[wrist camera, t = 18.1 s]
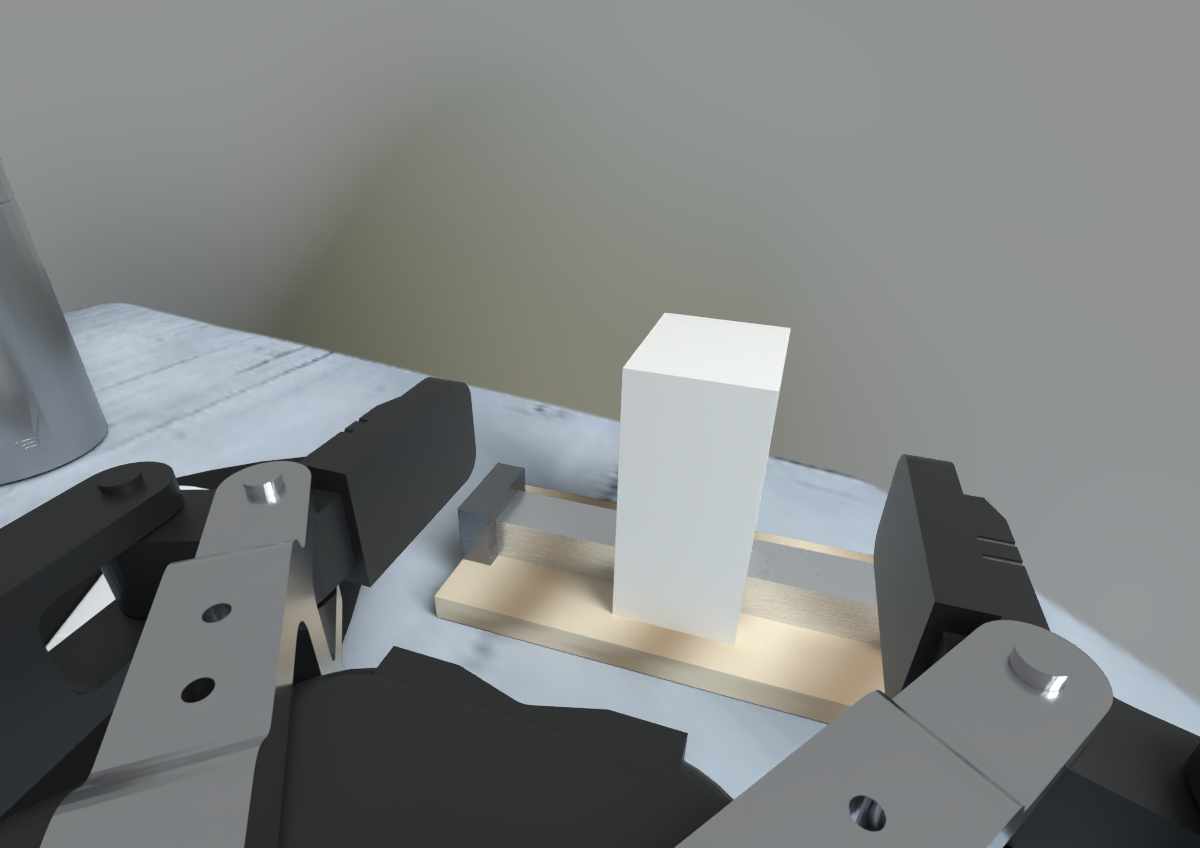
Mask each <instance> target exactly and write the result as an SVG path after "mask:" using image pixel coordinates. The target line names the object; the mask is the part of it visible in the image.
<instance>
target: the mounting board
mask: <svg viewBox="0 0 1200 848" xmlns="http://www.w3.org/2000/svg"><path fill="white" fill-rule="evenodd" d="M525 492H530V493H534V494H539V495H544V496H549V497H554V498H559V499H564V500H568V501H573V502H578V503H583V504H588V505H593V506H597V507H602V508H607V509H612V510H617V503H613V502H609V501H604V500H599V499H594V498H589V497H584V496H579V495H574V494H569V493H564V492H559V491H554V490H549V489H545V488H540V487H535V486H530V485H525ZM754 539H757V540H762V541H767V542H772V543H777V544H782V545H787V546H791V547H796V548H801V549H806V550H811V551H816V552H820V553H825V554H830V555H835V556H840V557H845V558H850V559H854V560H859V561H864V562H869V563H874V555H869V554H864V553H860V552H855V551H850V550H845V549H840V548H835V547H830V546H825V545H820V544H815V543H810V542H805V541H801V540H796V539H791V538H786V537H781V536H776V535H771V534H766V533H761V532H756V531H755V534H754ZM613 587H614V583H612V582H608V581H604V580H600V579H595V578H591V577H587V576H583V575H579V574H574V573H570V572H566V571H562V570H558V569H553V568H549V567H545V566H541V565H536V564H532V563H528V562H524V561H520V560H515V559H511V558H507V557H503V556H499V555H498V556H497V558H496V559H495V561H494V562H493V563H492V565H491V566H490V565H485V564H481V563H477V562H473V561H469V560H465V559H463V560H462V561H461V562H460V563H459V565H458V566H457V567H456V569H455V570H454V571H453V572H452V574H451V575H450V576H449V578H448V579H447V580H446V582H445V583H444V584H443V585H442V587H441V588H440V589H439V591H438V592H437V593H436V594H435V596H434V599H435V606H436V613H437V617H439V618H442V619H446V620H450V621H453V622H457V623H461V624H464V625H468V626H472V627H475V628H479V629H483V630H486V631H490V632H494V633H497V634H501V635H505V636H508V637H512V638H516V639H519V640H523V641H527V642H530V643H534V644H538V645H541V646H545V647H549V648H552V649H556V650H560V651H563V652H567V653H571V654H574V655H578V656H582V657H585V658H589V659H593V660H596V661H600V662H604V663H607V664H611V665H615V666H618V667H622V668H626V669H629V670H633V671H637V672H640V673H644V674H648V675H651V676H655V677H659V678H662V679H666V680H670V681H673V682H677V683H681V684H684V685H688V686H692V687H695V688H699V689H703V690H706V691H710V692H714V693H717V694H721V695H725V696H728V697H732V698H736V699H739V700H743V701H747V702H750V703H754V704H758V705H761V706H765V707H769V708H772V709H776V710H780V711H783V712H787V713H791V714H794V715H798V716H802V717H805V718H809V719H813V720H816V721H820V722H824V723H827V724H830V723H831V722H832V721H833V720H835V719H836V718H837V717H838V716H840V715H841V714H842V713H843V712H845V711H846V710H847V709H848V708H850V707H851V706H852V705H853V704H855V703H856V702H857V701H858V700H860V699H861V698H862V697H864V696H865V695H867V694H868V693H870V692H872V691H875V690H880V691H882V692H883V693H885V689H884V677H883V666H882V654H881V646H878V645H873V644H869V643H865V642H861V641H856V640H852V639H848V638H844V637H840V636H835V635H831V634H827V633H823V632H819V631H814V630H810V629H806V628H802V627H798V626H793V625H789V624H785V623H781V622H776V621H772V620H768V619H764V618H760V617H755V616H751V615H747V614H743V613H740V618H739V624H738V629H737V635H736V641H735V646H733V645H729V644H725V643H721V642H718V641H714V640H710V639H706V638H702V637H698V636H695V635H691V634H687V633H683V632H679V631H675V630H672V629H668V628H664V627H660V626H656V625H652V624H648V623H645V622H641V621H637V620H633V619H629V618H625V617H622V616H618V615H614V614H612V611H613Z"/></svg>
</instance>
